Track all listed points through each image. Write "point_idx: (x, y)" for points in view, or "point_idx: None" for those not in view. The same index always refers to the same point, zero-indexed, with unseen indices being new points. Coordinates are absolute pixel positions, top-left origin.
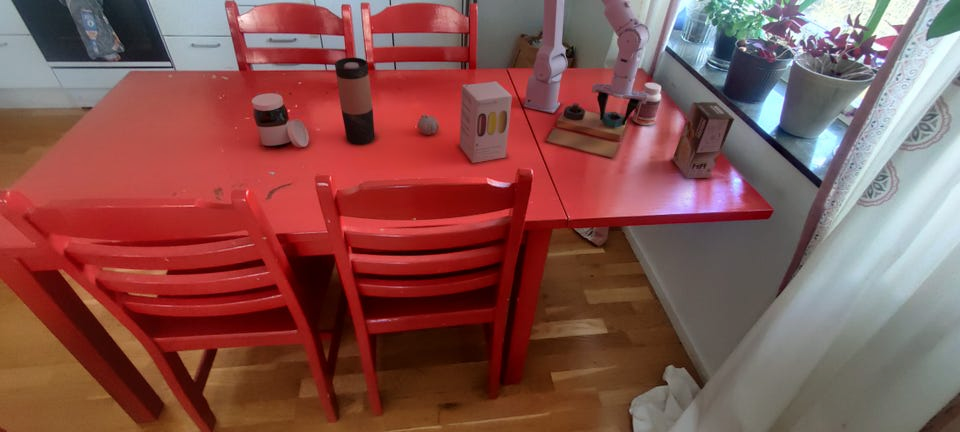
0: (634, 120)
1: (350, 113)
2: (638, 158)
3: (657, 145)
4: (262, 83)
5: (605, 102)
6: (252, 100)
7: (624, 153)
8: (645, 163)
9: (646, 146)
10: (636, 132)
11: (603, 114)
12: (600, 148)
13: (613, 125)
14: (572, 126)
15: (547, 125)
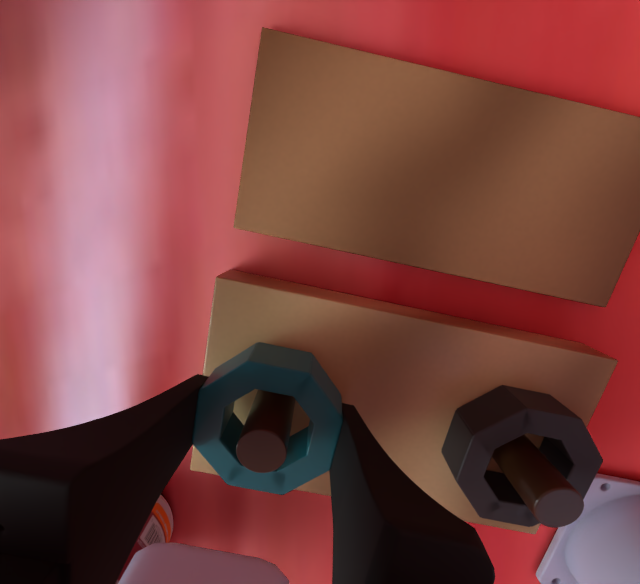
0: (160, 501)
1: None
2: (108, 94)
3: (24, 289)
4: None
5: (364, 517)
6: None
7: (192, 133)
8: (61, 39)
9: (79, 259)
10: (146, 397)
11: (342, 435)
12: (337, 128)
13: (265, 347)
14: (508, 333)
15: (631, 341)
